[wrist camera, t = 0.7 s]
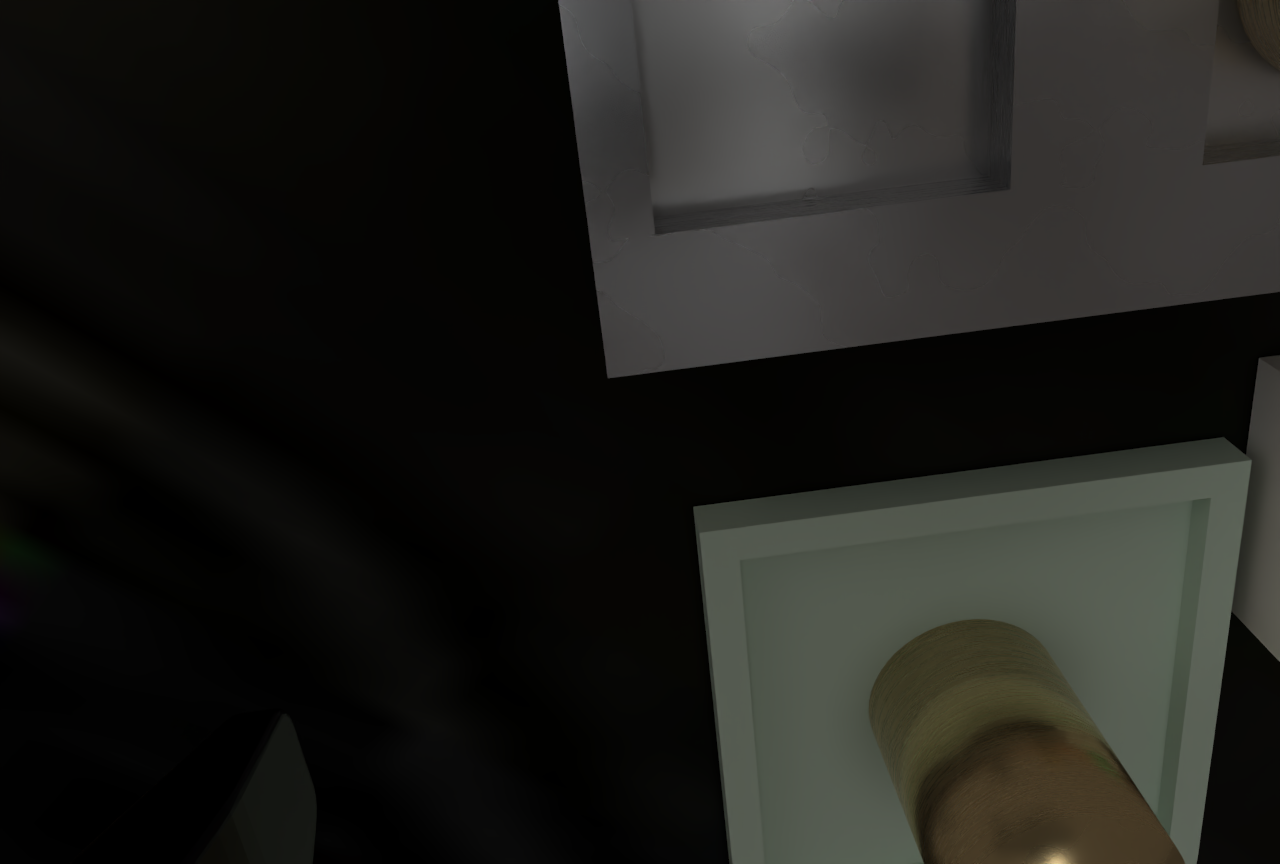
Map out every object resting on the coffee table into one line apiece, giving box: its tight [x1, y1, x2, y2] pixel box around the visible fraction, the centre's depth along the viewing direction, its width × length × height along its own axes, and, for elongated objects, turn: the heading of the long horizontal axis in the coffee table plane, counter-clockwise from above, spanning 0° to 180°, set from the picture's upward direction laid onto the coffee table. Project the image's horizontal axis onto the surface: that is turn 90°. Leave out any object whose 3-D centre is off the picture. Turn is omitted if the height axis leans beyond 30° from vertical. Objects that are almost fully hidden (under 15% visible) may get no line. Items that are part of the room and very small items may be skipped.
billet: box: [869, 619, 1185, 864], centre depth 22 cm, size 4×4×6 cm
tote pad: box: [693, 437, 1252, 864], centre depth 24 cm, size 10×10×1 cm
